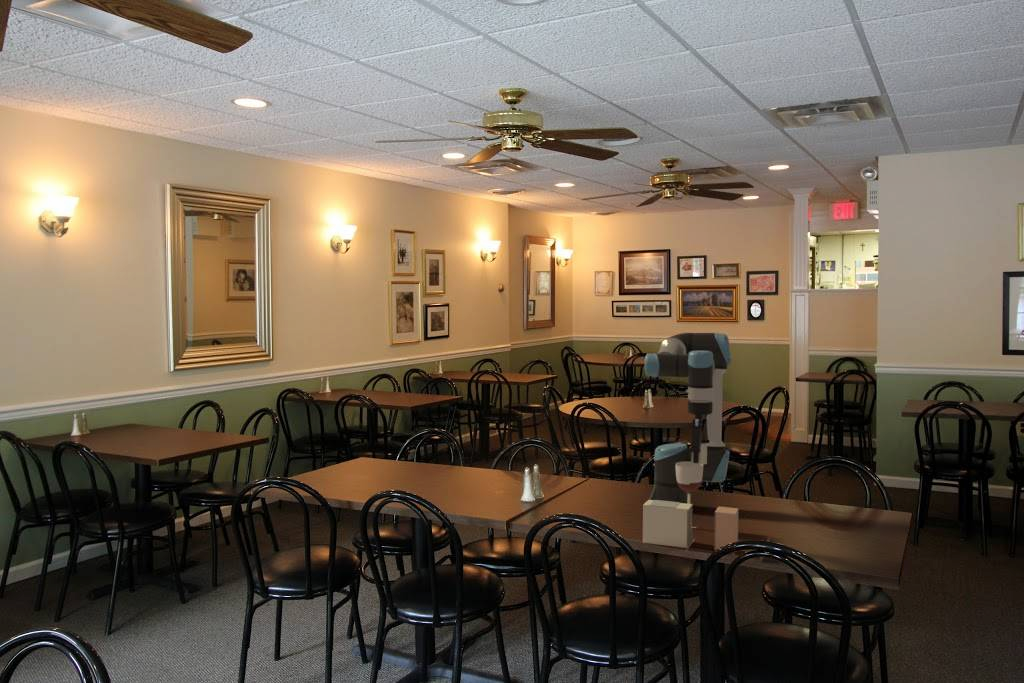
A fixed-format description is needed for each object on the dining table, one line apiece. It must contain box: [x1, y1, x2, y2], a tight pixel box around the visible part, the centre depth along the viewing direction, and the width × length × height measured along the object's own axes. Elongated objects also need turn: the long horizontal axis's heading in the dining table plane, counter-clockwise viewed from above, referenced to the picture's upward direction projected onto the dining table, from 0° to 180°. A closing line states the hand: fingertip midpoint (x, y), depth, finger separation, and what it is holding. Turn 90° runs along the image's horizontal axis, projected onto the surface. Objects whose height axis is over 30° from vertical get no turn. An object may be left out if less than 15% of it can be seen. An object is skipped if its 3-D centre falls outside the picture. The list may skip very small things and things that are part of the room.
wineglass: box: [676, 462, 703, 529], centre depth 267 cm, size 9×10×22 cm
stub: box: [713, 506, 739, 555], centre depth 244 cm, size 7×6×12 cm
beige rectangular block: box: [642, 499, 694, 549], centre depth 251 cm, size 7×14×12 cm, turn 67°
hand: (699, 468), depth 250 cm, fingers open, 13 cm apart
